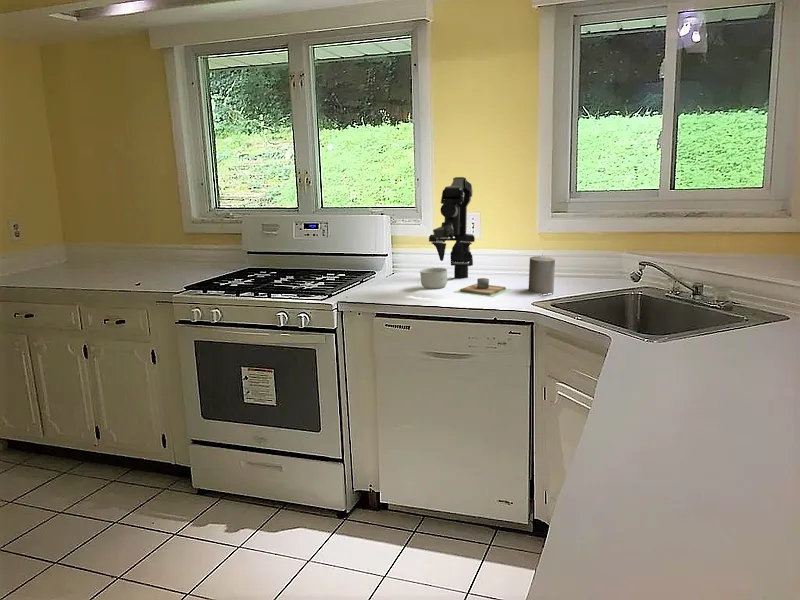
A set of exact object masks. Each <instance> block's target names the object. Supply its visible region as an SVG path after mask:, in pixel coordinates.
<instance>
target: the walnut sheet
mask: <svg viewBox="0 0 800 600" xmlns="http://www.w3.org/2000/svg"><path fill="white" fill-rule="evenodd" d="M489 283H490V279H489V278H486V277H481V278H480V277H478V278H477V282H476V283H474V284H471V285H468V286H466V287H463V288H459V290H460V292H466V293H474V294H482V295H493V294H495V293H498V292H500V291H503V290H506V288H507V287H506V286H500V285H491V284H489Z"/></svg>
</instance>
